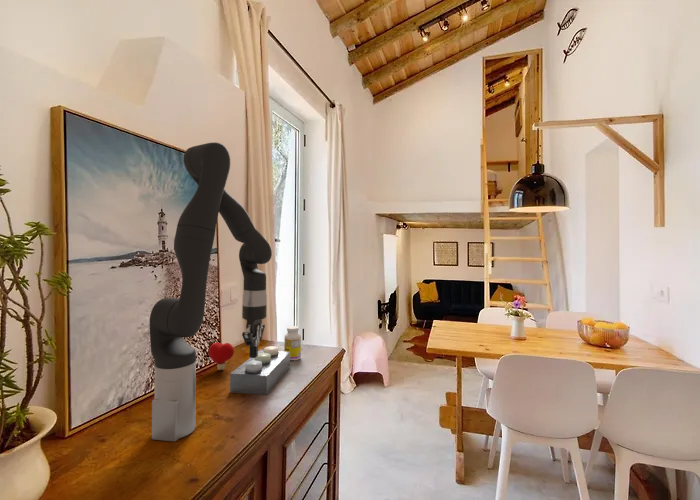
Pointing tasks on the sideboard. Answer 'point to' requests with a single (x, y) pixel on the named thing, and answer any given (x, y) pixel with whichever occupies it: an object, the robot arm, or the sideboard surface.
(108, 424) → the sideboard surface
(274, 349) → the cap far
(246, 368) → the cap near
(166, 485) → the sideboard surface
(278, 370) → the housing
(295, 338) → the supplement bottle
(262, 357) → the cap mid
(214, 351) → the red heart
